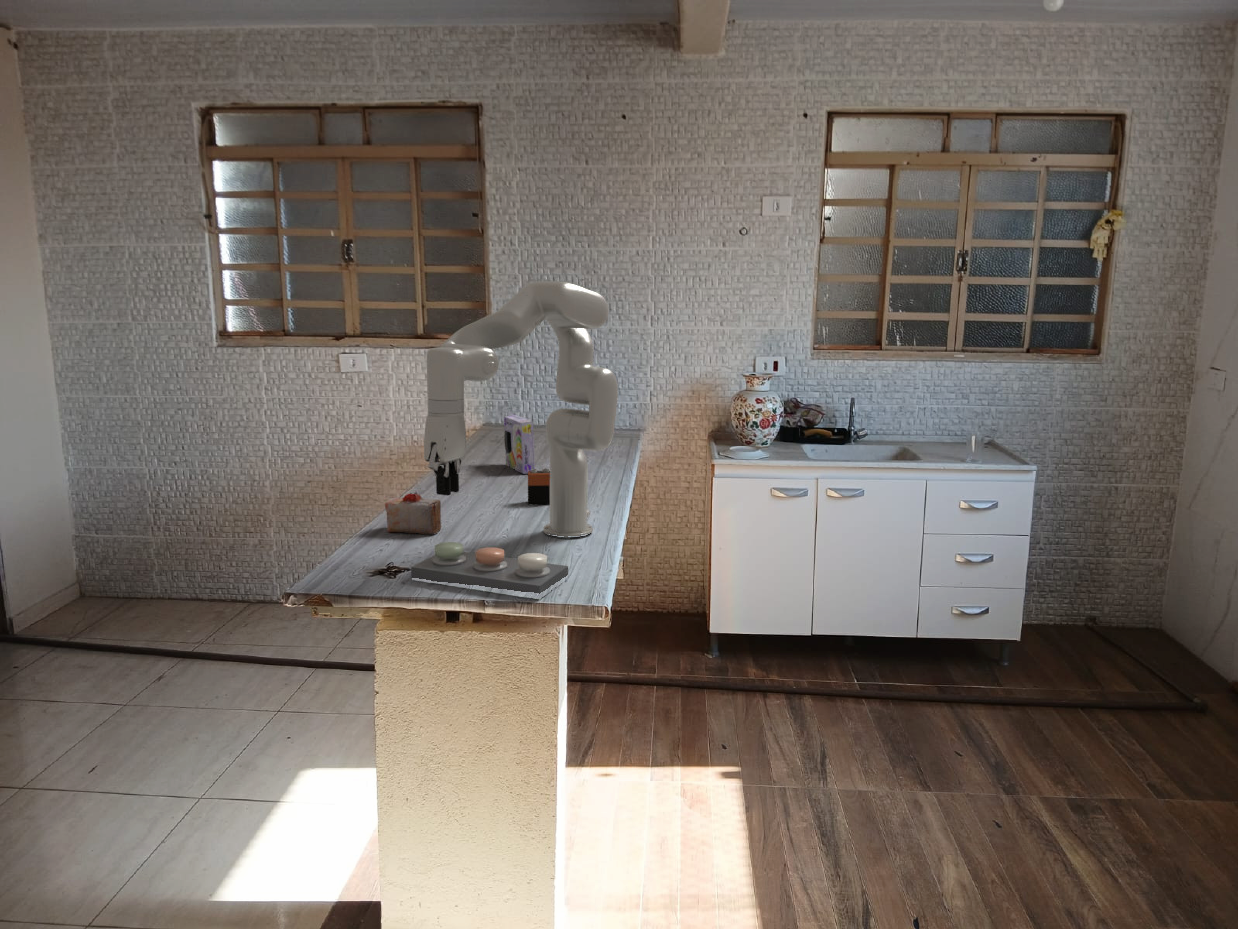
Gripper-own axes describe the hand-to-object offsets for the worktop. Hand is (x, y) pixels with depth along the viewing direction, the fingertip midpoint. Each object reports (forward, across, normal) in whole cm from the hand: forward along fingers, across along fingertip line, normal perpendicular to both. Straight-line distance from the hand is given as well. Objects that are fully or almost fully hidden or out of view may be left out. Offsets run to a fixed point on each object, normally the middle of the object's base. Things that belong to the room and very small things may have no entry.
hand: (447, 492), depth 191 cm
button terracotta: (+15, 0, +10) cm, 18 cm away
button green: (+15, 0, 0) cm, 15 cm away
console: (+18, 0, +10) cm, 21 cm away
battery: (+18, -66, -10) cm, 69 cm away
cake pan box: (+18, -106, -37) cm, 114 cm away
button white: (+15, 0, +20) cm, 25 cm away
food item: (+18, -26, -26) cm, 41 cm away
